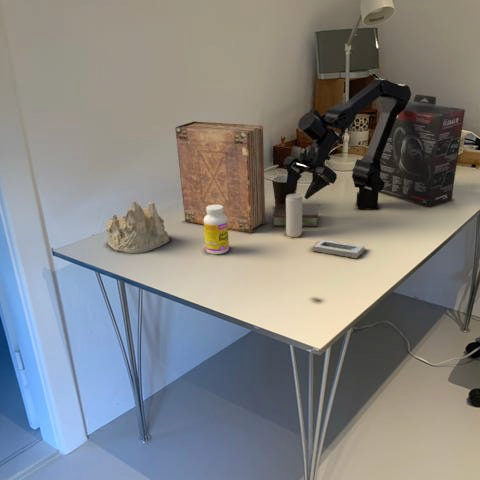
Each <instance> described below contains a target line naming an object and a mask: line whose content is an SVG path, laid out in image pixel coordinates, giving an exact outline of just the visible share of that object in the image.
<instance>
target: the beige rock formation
mask: <svg viewBox="0 0 480 480" xmlns="http://www.w3.org/2000/svg"><path fill="white" fill-rule="evenodd" d="M164 222H165V220H164V219H163V218H162V217H161V216H160V215H159V214H158V210H157V207H156V204H155V201H154V202H153V201H149V202H148V204H147V207H142V205H140V204H139V203H137V200H134V199H133V200H131V205H130V209H128V210H127V211H126V213H125V215H124V216H122V217H121V216H120V217H117V214H113V213H112V215H111V217H110V218H109V220H108V222H107V224H106V226H105V229H104V230H105V231H106V232H107V236H108V238H109V239H108V241H107V243H108V244H107V245H108V246H109V247H110V248H112V249H113V250H115V251H116V252H117V251H119V252H123V253H129V254H130V253H131V254H141V253H144V252H145V253H146V252H147V253H148V252H150V251H152V250H155V249H157V248H159V247H162V246H164V245H166V244H167V243H169V242H170V236H169V234H168V231H166V228H165V225H164Z"/></svg>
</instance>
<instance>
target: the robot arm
mask: <svg viewBox="0 0 480 480" xmlns="http://www.w3.org/2000/svg"><path fill="white" fill-rule="evenodd" d="M411 96H412V91H411V88H410V86H409V85H407V84H399V83H395V82H392V81H390V80H388V79H387V78H374V79H373V80H371V81H370V83H369V84H368V85H366V86H365V87H364V88H363V89H361V90H360V91H358V92H357V93H356V94H354V95H353V96H352V97H350V99H348V100H347V101H344V102H342V103H338V104H335V105H334V106H331V107H329V108H328V109H327V110H326V111H325V112H324V113H323V114H320V113H319V111H318V110H317V109H315V108H310V110H309V111H308V112H306V113H305V114H304V115H303V116H302V117H300V119H299V120H298V123H297V127H298V129H299V130H300V131H301V132H302V133H303V134H304V135H305V136H307V137H308V138H309V139H310V140H311V141H314V142H312V145H310V144H309V145H307V146H306V148H304V147H303V148H302V147H299V146H295V145H293V146H292V148H291V153H290V156H286V157H285V159H284V160H283V162H282V164H283V165H284V168H285V169H286V172H287V174H286V175H287V181H286V187H285V191H286V192H289V191H290V190H291V188H292V187H293V186H294V185H295V184H296V182H297V181H298V182H299V180H301V178H302V174H303V173H304V172H306V173H309V174H312V175H311V176H312V180H311V182H310V184H309V186H308V188H307V190H306V192H305V194H304V199H306V200H308V199H310V198H311V197H313V196H314V195H315V194H316V193H318V192H320V191H321V190H323V189H324V188H325V187H327V186H330V185H331V184H332V185H334V184H335V182H336V180H337V179H338V175H337V173H336V172H335V171H334V170H333V169H331V168H330V167H329V166H328V165H324V164H325V162H326V161H330V160H331V156H330V154H331V152H332V150H333V148H334V146H335V144H336V143H339V144H342V143H343V138H342V133H341V132H337V131H335V130H338V131H346V130H347V129H349V127H350V126H351V125H352V124H353V123H354V122H355V120H356V117H357V115H358V114H359V113H361V112H362V111H363V110H364V109H367V107H369V106H370V105H371V104H373V102H374V101H376V100H377V99H378V98H380V108H381V113H380V115H379V118H378V120H377V123H376V126H375V128H374V130H373V134H372V137H371V139H370V142H369V144H368V147H367V149H366V152H365V155H364V156H363V157H362V158H361V159H359V158H358V159H356V160H355V163H354V166H353V168H352V170H351V172H352V173H351V179H352V181H353V185H354V188H358V191H356V200H355V203H356V204H355V205H356V207H357V209H358V210H378V209H379V204H378V203H379V193H381V192H380V191H381V190H383V188H384V185H385V183H384V182H383V180H382V179H381V178H380V177H379V176H380V172H381V166H380V159H381V156H382V154H383V151H384V148H385V146H386V143H387V140H388V138H389V135H390V133H391V130H392V127H393V125H394V122H395V120H396V117H397V115H399V114H400V113H401V112H402V111H403V110H404V109H405V107H406V105H407V104H408V102H410V100H411ZM298 182H297V183H298Z"/></svg>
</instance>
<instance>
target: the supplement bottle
mask: <svg viewBox="0 0 480 480" xmlns="http://www.w3.org/2000/svg"><path fill="white" fill-rule="evenodd" d="M206 212H207V215H206V216H205V217H204V225H203V228H204V229H203V230H204V231H203V232H204V244H205V251H206V253H208V254H212V255H222V254H226V253H227V252H228V251H229V249H230V245H229V243H230V241H229V229H228V221H227V217H226V216H225V215H224V214H223V206H222V205H217V204H215V205H209V206H207V207H206Z"/></svg>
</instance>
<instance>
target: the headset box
mask: <svg viewBox="0 0 480 480" xmlns="http://www.w3.org/2000/svg"><path fill="white" fill-rule="evenodd" d="M423 100H426V101H423ZM465 112H466V109H464V108H458V107H451V106H443V105H437V96H434V95H433V96H432V95H424V94H418V93H417V94H415V95H414V98H413V100H412V101H409V102H408V104H407V105H406V107H405V109H404V110H403V111H402V112H401V113H400V114H399V115H397V117H396V120H395V122H394V125H393V127H392V130H391V133H390V135H389V138H388V140H387V143H386V146H385V148H384V151H383V154H382V156H381V159H380V166H381V172H380V176H379V177H380V178H381V179H382V180H383V182H384V183H385V185H384V188H383V190H381V191H380V192H379V193H382V194H386V195H389V196H392V197H395V198H399V199H402V200H405V201H409V202H412V203H415V204H418V205H421V206H425V207H428V208H431V207H433V206H437V205H439V204H442V203H445V202H448V201H451V200H452V198H453V192H454V185H455V178H456V172H457V164H458V159H459V153H460V145H461V139H462V133H463V132H462V131H463V126H464V119H465V114H466V113H465Z"/></svg>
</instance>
